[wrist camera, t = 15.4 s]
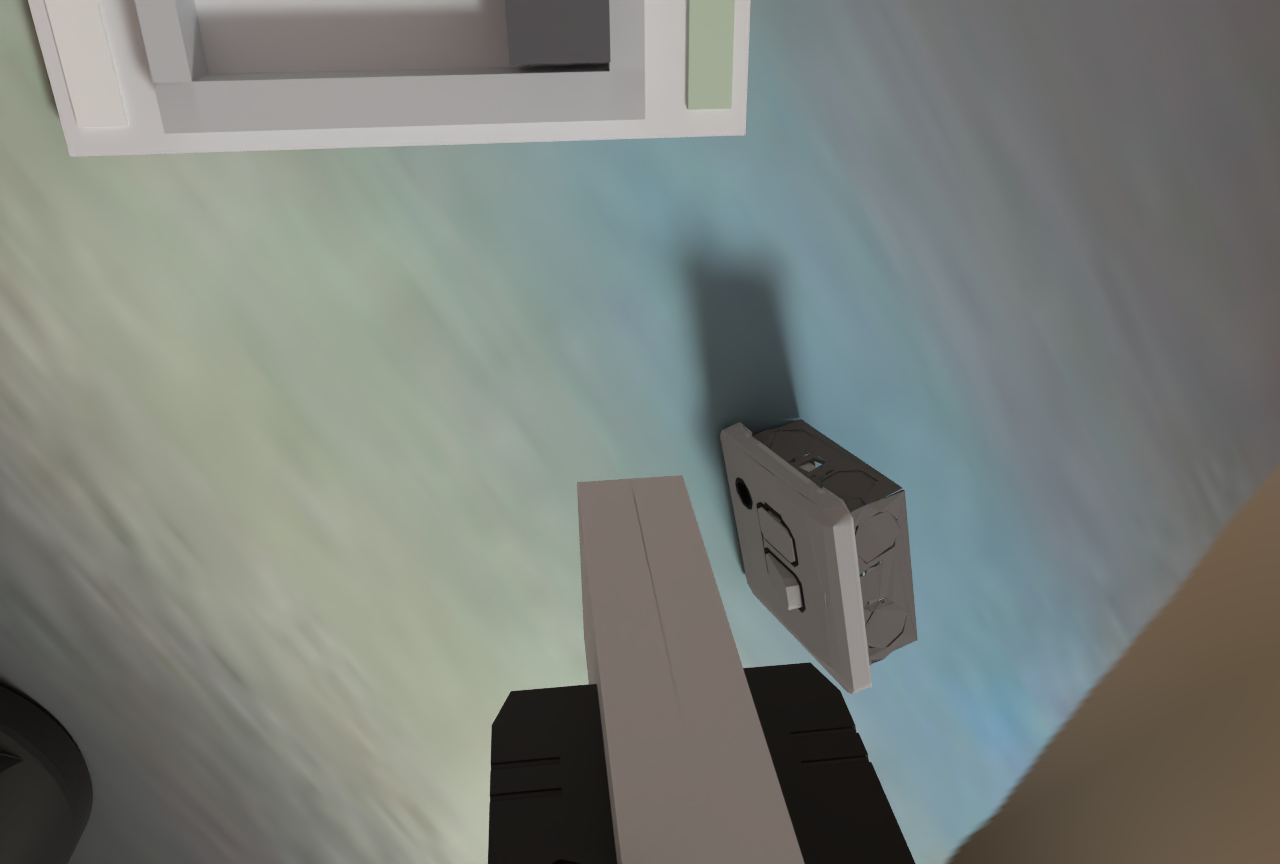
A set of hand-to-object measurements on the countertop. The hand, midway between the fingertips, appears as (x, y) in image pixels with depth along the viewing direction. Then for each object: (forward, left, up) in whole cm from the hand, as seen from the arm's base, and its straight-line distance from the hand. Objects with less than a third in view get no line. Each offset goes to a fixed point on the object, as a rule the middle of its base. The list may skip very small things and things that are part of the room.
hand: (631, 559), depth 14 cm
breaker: (0, +6, -25) cm, 26 cm away
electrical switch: (+10, -15, -27) cm, 32 cm away
